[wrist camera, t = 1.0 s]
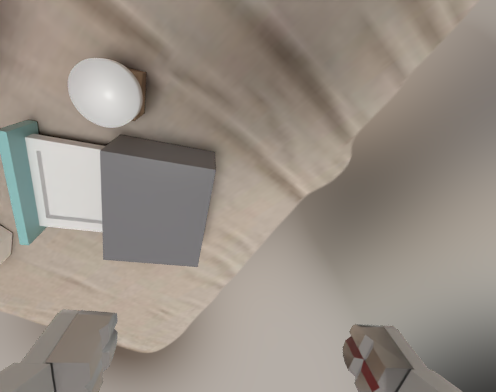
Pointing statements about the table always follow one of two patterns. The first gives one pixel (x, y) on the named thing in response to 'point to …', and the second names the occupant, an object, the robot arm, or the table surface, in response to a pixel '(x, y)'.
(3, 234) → the jar
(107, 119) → the disc
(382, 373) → the robot arm
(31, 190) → the tray
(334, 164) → the table surface
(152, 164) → the grey drawer box
